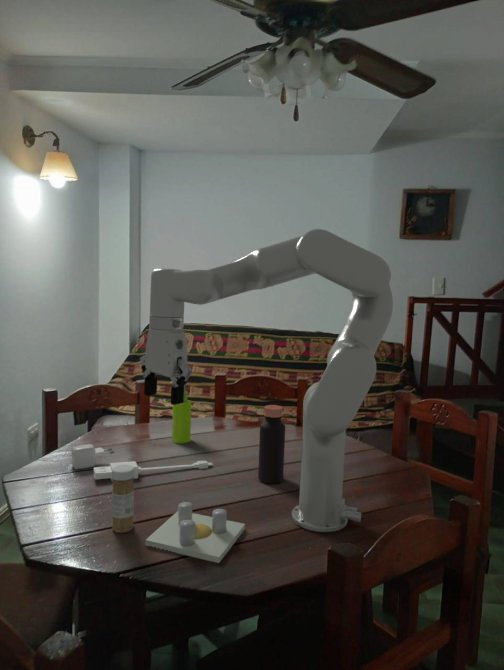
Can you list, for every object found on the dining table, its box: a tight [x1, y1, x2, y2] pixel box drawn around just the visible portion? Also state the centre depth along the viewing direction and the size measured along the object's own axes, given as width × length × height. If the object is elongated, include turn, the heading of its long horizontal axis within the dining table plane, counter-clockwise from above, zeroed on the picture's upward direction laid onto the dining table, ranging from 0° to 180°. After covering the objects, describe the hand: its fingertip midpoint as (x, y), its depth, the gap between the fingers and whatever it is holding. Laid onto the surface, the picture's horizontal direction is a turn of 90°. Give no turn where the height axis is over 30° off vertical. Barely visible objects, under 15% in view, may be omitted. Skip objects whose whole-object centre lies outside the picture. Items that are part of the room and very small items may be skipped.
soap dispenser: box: [169, 381, 192, 444], centre depth 163 cm, size 6×7×20 cm
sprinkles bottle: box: [111, 465, 135, 534], centre depth 106 cm, size 5×5×13 cm
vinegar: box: [257, 404, 286, 485], centre depth 134 cm, size 7×7×20 cm
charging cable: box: [93, 460, 214, 482], centre depth 137 cm, size 5×32×3 cm, turn 113°
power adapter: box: [71, 443, 115, 470], centre depth 141 cm, size 11×5×6 cm, turn 121°
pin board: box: [145, 501, 246, 564], centre depth 104 cm, size 16×14×5 cm
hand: (163, 399), depth 114 cm, fingers open, 9 cm apart
